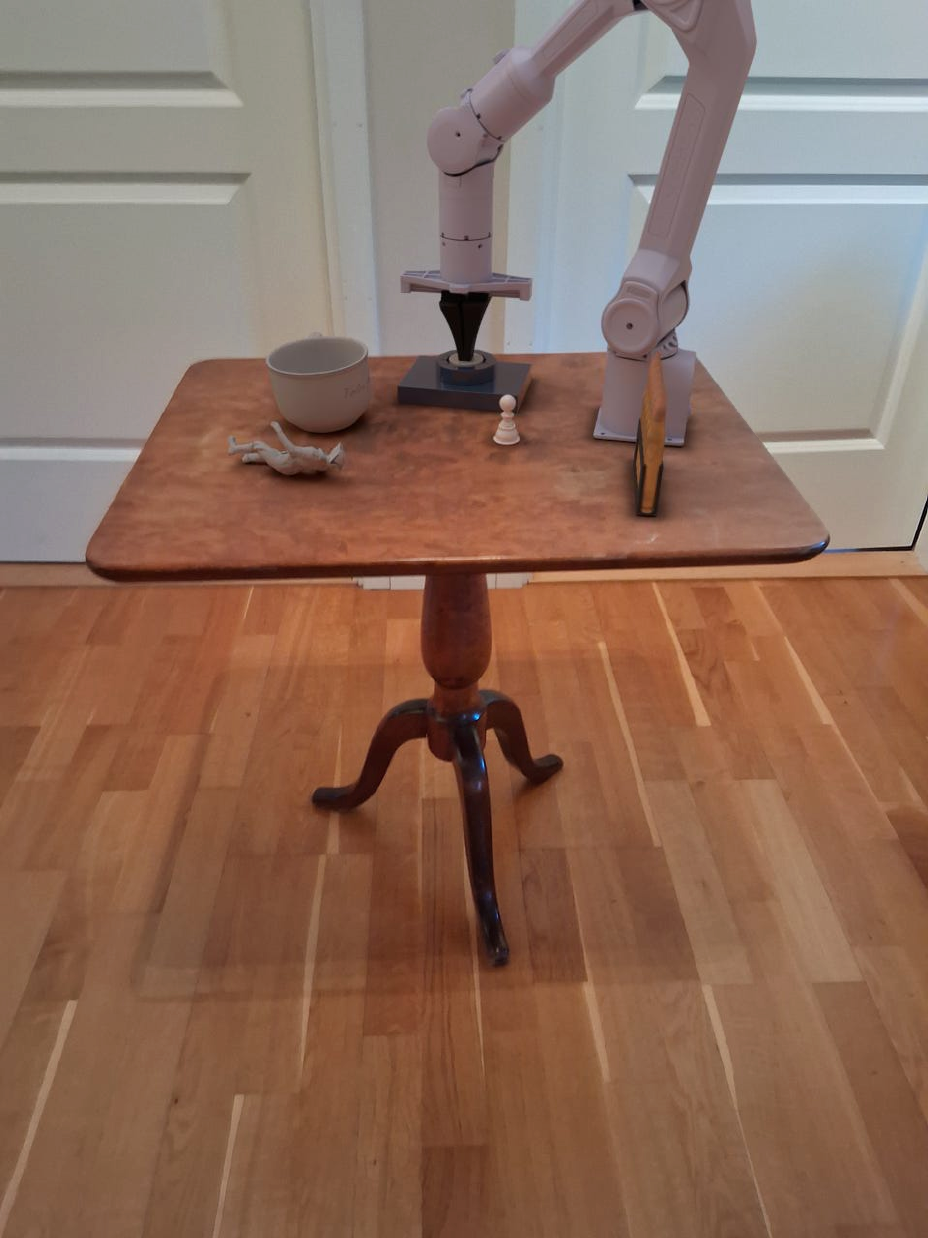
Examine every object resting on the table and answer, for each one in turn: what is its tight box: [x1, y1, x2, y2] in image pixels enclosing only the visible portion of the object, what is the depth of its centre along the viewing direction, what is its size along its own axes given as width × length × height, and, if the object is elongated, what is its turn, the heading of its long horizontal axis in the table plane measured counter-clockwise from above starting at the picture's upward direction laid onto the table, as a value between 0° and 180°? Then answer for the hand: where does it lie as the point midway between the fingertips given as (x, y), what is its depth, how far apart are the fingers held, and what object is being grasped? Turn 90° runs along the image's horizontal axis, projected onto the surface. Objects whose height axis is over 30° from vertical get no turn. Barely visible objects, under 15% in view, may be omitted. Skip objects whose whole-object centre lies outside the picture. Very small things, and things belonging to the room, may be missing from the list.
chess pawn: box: [492, 395, 521, 446], centre depth 94 cm, size 3×3×5 cm
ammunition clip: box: [632, 352, 667, 517], centre depth 83 cm, size 11×2×12 cm, turn 173°
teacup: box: [265, 331, 372, 434], centre depth 98 cm, size 14×11×8 cm
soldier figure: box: [227, 420, 346, 476], centre depth 89 cm, size 8×5×12 cm
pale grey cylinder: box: [449, 353, 483, 367], centre depth 104 cm, size 4×4×2 cm
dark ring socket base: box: [396, 349, 533, 415], centre depth 105 cm, size 14×10×4 cm
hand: (466, 358), depth 104 cm, fingers closed, pressing on pale grey cylinder
